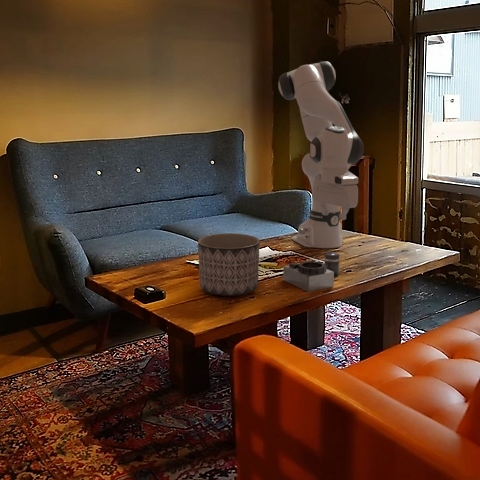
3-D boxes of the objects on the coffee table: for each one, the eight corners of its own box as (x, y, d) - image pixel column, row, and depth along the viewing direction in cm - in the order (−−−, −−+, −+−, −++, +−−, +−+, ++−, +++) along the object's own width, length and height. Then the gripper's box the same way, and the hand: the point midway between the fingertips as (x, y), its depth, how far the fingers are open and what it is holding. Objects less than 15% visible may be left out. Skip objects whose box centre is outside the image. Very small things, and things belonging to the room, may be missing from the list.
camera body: (283, 280, 208) (283, 260, 206) (307, 275, 213) (307, 256, 211) (308, 291, 196) (309, 271, 195) (333, 286, 201) (334, 266, 200)
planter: (211, 304, 185) (211, 251, 181) (190, 285, 202) (189, 236, 198) (269, 295, 193) (270, 244, 189) (244, 278, 210) (244, 231, 206)
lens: (320, 273, 215) (321, 253, 213) (332, 271, 218) (333, 251, 216) (330, 277, 211) (330, 256, 209) (341, 275, 214) (342, 254, 212)
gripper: (308, 173, 214) (308, 213, 217) (346, 180, 196) (345, 223, 200) (323, 172, 217) (322, 211, 220) (362, 179, 199) (360, 221, 203)
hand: (333, 217), depth 210 cm, fingers open, 8 cm apart
